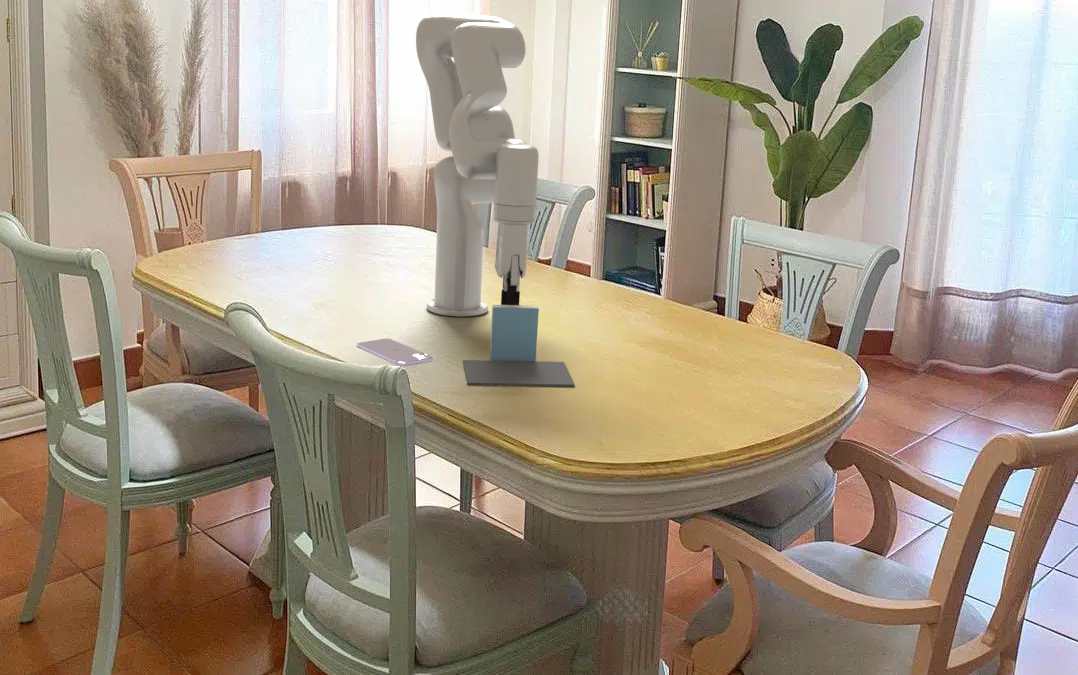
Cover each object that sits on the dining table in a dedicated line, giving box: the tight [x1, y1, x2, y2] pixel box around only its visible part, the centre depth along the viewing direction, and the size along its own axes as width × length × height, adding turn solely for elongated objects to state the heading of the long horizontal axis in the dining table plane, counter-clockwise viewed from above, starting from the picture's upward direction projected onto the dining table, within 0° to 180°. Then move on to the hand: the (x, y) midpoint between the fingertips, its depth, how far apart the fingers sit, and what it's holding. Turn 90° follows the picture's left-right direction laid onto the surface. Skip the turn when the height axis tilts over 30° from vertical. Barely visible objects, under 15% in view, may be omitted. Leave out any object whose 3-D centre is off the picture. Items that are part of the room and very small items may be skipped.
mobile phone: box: [355, 338, 434, 367], centre depth 210 cm, size 8×1×15 cm
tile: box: [489, 304, 540, 361], centre depth 208 cm, size 2×8×10 cm, turn 97°
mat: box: [462, 359, 575, 388], centre depth 202 cm, size 13×18×1 cm
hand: (509, 311), depth 217 cm, fingers closed
